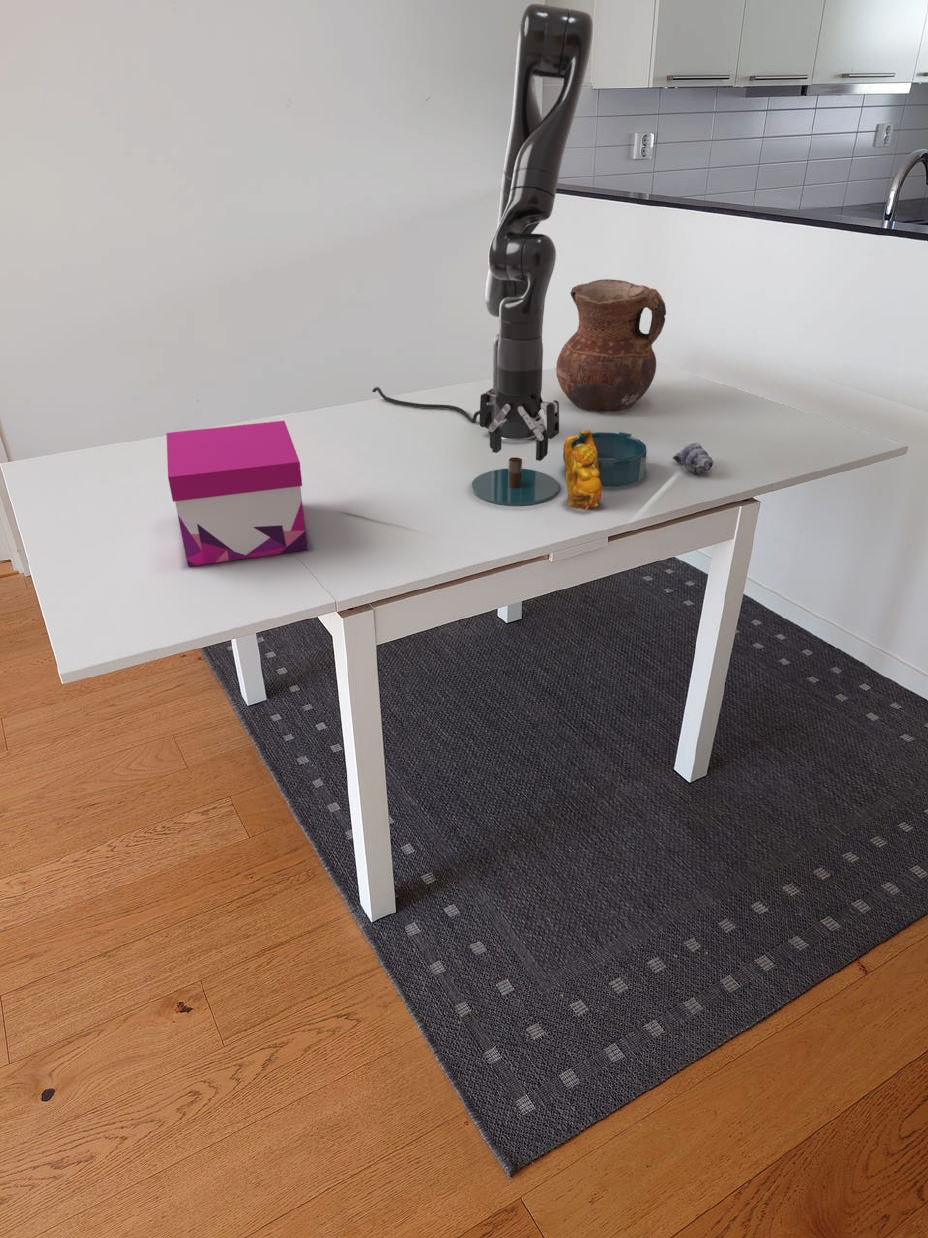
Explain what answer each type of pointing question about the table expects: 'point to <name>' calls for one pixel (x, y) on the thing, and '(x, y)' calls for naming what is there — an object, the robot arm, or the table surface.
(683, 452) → the seashell
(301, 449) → the table surface
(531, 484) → the lid
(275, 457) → the decorative box
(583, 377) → the jug
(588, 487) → the figurine
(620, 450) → the pot
